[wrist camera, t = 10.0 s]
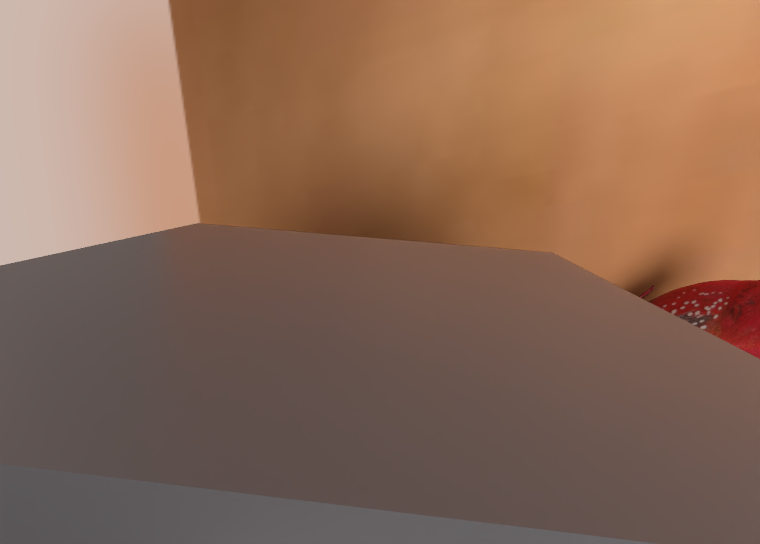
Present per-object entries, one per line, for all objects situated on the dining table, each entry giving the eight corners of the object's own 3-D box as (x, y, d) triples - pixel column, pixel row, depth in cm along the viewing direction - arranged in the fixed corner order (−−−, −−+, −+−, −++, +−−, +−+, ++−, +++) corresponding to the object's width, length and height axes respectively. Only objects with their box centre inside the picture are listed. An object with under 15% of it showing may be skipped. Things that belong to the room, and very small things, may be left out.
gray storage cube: (197, 223, 11) (-588, 391, 2) (552, 252, 10) (1263, 617, 2) (212, 503, 13) (-130, 1075, 5) (496, 538, 13) (673, 1251, 4)
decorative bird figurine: (715, 252, 24) (918, 307, 15) (520, 422, 29) (577, 550, 19) (685, 224, 24) (872, 261, 14) (493, 400, 28) (536, 519, 19)
